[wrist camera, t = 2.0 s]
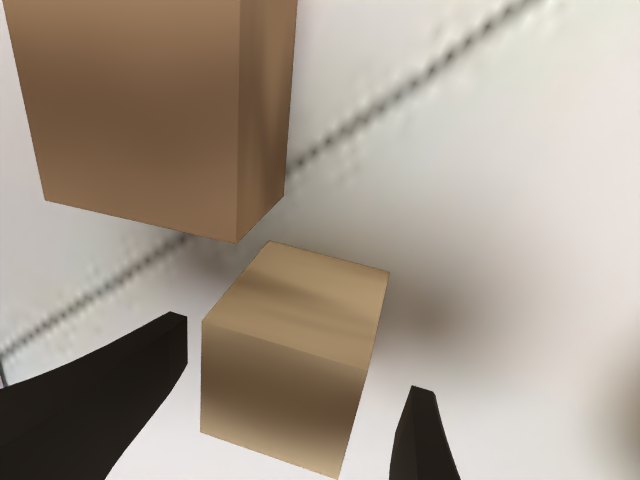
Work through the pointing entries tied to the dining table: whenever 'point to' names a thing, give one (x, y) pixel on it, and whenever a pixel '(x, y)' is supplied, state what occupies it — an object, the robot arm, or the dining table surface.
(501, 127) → the dining table surface
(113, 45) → the walnut plinth
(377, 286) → the beech cube
